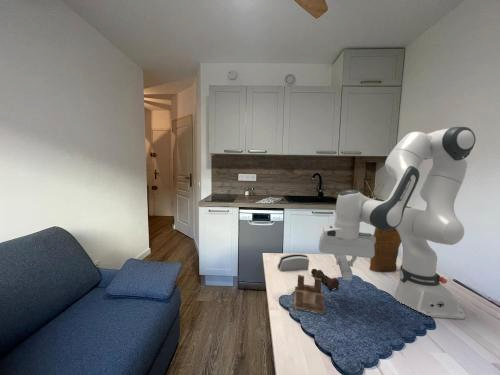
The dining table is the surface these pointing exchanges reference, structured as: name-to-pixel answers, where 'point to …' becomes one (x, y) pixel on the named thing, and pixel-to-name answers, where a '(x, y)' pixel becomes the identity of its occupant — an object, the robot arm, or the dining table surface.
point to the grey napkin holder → (293, 262)
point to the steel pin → (345, 268)
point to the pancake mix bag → (385, 250)
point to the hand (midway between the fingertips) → (344, 265)
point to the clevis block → (309, 296)
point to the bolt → (326, 278)
